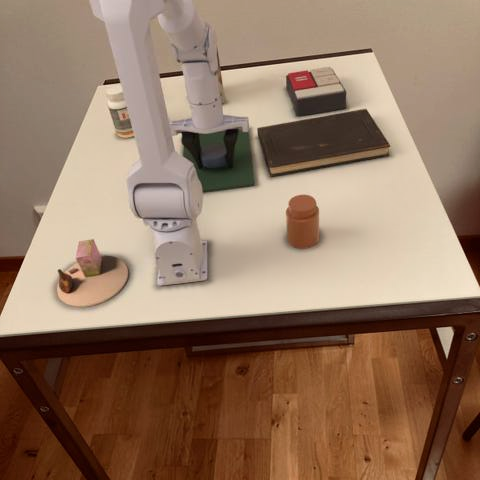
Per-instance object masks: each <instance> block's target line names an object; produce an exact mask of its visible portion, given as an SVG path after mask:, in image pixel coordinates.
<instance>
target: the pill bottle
mask: <svg viewBox="0 0 480 480" xmlns="http://www.w3.org/2000/svg"><path fill="white" fill-rule="evenodd" d="M105 94H106V97H107V99H108V101H107V107H108V111H109V114H110V117H111V121H112V123H113V126H114V129H115V132H116V135H117V136H118V137H120V138H124V139H126V138H127V139H128V138H133V137H134V133H133V129H132V125H131V121H130V117H129V114H128V110H127V106H126V102H125V98H124V94H123V91H122V87H121V84H115V85H111V86H109V87H108V88H107V89H106V90H105Z"/></svg>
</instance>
